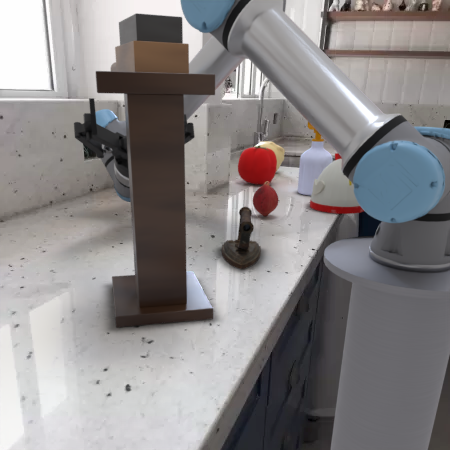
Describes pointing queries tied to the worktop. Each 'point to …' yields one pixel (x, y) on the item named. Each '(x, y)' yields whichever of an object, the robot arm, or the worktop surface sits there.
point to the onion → (265, 199)
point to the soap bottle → (312, 163)
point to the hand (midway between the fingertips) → (137, 107)
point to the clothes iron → (242, 244)
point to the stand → (157, 198)
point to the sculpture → (276, 148)
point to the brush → (151, 45)
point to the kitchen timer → (334, 191)
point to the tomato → (257, 165)
